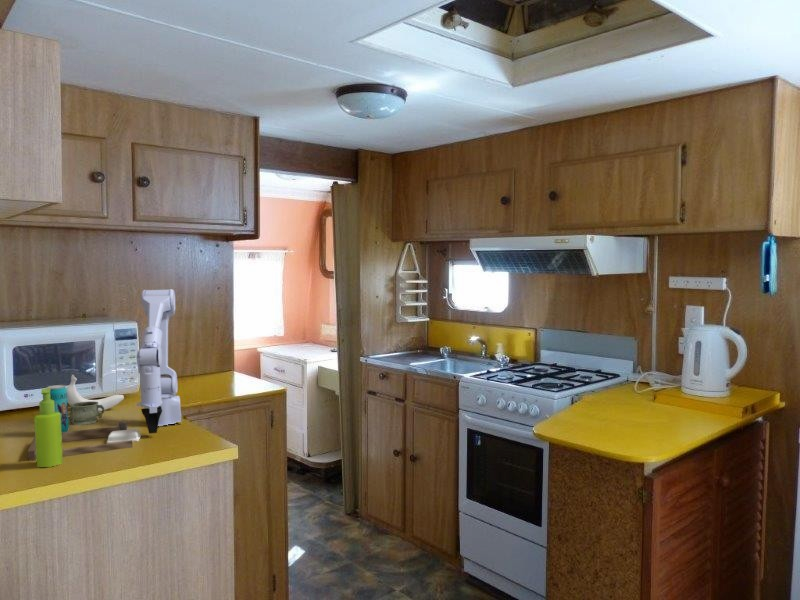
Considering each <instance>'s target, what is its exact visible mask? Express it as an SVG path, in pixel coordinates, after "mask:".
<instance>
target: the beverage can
mask: <svg viewBox="0 0 800 600" xmlns="http://www.w3.org/2000/svg"><path fill="white" fill-rule="evenodd" d="M46 388H51V390H50V399H52V400H54V404H55V412H59V413H60V414H61V433H62V432H69V429H70V426H69V425H70V424H69V423H70V422H69V421H68V417H69V411H68V408H69V403H68V400H67V389H66V388H67V386H66V385H64V384H56V385H49V386H47V387H46Z"/></svg>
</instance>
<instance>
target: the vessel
mask: <svg viewBox="0 0 800 600" xmlns="http://www.w3.org/2000/svg"><path fill="white" fill-rule="evenodd" d="M97 404H98V402H94V401H89V402H80V403H74V404H71V405H70V404H69V407H68V412H70V415H69V416H68V421H69V423H70V422H72V420H73V422H72V425H74V424H76V425H75V426H81V425H82V426H83V425H89V424H94V423H96V422H98V419H102V418H103V414H104V413H105V410H104V407H103V406H102V405H97ZM98 408H102V411H101V412H100V411H98ZM97 417H98V419H97Z"/></svg>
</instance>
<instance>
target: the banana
mask: <svg viewBox="0 0 800 600" xmlns="http://www.w3.org/2000/svg"><path fill="white" fill-rule="evenodd" d="M77 381H78V379H77V377H75V375H74V374H71V377H70V383H69V384H68V385H67V386H66V389H67V400H68V405H69V406H70V405H71V404H74V403H80V402H89V401H94V402H98V404H97V405H102V406H103V407H104V411H106V410H108V409H110V408H112V407H115V406H116V405H118V404H120V403H121V402H122V401H123V400H124V399H125V397H124V395H123V394H114V395H110V396H108V397H104V398H101V399H100V398H99V399H87V398H85V397H83V396H81V394H80V393H79V392H78V389H77V388H76V382H77ZM98 411H99V412H102V408H98Z"/></svg>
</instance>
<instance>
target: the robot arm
mask: <svg viewBox="0 0 800 600" xmlns="http://www.w3.org/2000/svg"><path fill="white" fill-rule="evenodd" d="M140 295H141V296H140V301H141V303H140V304H141V306H142V308H143V312H144V313H145V316H146V317H147V319H146V320H147V327H145V329H143V331H142V335H141V342H140V349H138V350H137V351H136V364H137V368H138V371H137V372H138V374H139V383H140V384H139V385H140V387H139V388H140V402H137V403H136V406H137V407H142V408H140V409H141V413H142V415H143V417H144V419H145V423H146V426H147V430H148V433H149V434H156V433H158V429H159V427H164V426H163V425H167V426H169V425H168V424H174V423H176V422H181V423H182V412H181V410H182V409H181V398H180V395H176V394H178V386H179V385H178V383H179V382H178V375H177V374H178V373H177V372H176V370H174V369H173V368H171V367H170V366H169V322H170V318H171V317H172V316H175V314H176V313H175V312H176V293H175V290H174V289H173V288H170V289H143V290H142V291H141V294H140ZM158 426H159V427H158Z"/></svg>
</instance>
